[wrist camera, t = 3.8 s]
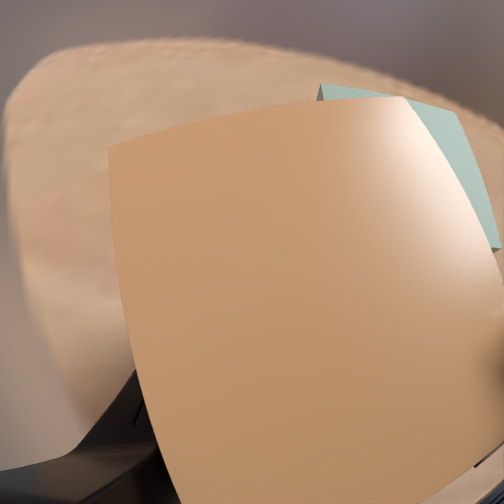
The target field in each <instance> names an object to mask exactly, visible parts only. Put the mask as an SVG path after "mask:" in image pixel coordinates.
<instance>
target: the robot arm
mask: <svg viewBox="0 0 504 504" xmlns="http://www.w3.org/2000/svg"><path fill="white" fill-rule="evenodd" d="M503 444H504V441H503V442H502V443H500V444H499V445H498V446H497V447H496V448H495V449H494V450H492V451H491V452H490V453H489V454H488V455H487V456H485V457H484V458H483V459H482V460H481V461H479V462H478V463H477V464H476V465H474V468H476V467H477V466H479V465H480V464H481V463H482V462H484V461H485V460H486V459H487V458H488V457H490V456H491V455H492V454H493V453H494V452H495V451H496V450H498V449H499V448H500V447H501V446H502V445H503ZM0 504H182V503H181V501H180V499H179V497H178V494H177V492H176V489H175V487H174V485H173V482H172V480H171V477H170V475H169V472H168V470H167V467H166V464H165V462H164V459H163V456H162V453H161V451H160V448H159V445H158V442H157V439H156V436H155V433H154V430H153V427H152V424H151V421H150V417H149V414H148V411H147V407H146V404H145V401H144V397H143V393H142V390H141V386H140V382H139V379H138V375H137V371H136V369H135V370H134V372H133V373H132V376H131V377H130V378H129V379H128V381H127V382H126V384H125V385H124V387H123V388H122V390H121V391H120V392H119V394H118V395H117V397H116V398H115V400H114V401H113V402H112V403H111V405H110V406H109V407H108V409H107V410H106V411H105V412H104V414H103V415H102V416H101V417H100V419H99V420H98V421H97V422H96V424H95V425H94V426H93V427H92V428H91V430H90V431H89V432H88V433H87V435H86V436H85V437H84V438H83V440H82V441H81V442H80V443H79V444H78V445H77V447H76V448H75V449H73V450H72V451H71V452H69V453H68V454H66V455H64V456H62V457H59V458H56V459H52V460H49V461H45V462H41V463H37V464H33V465H28V466H24V467H19V468H15V469H9V470H4V471H0ZM475 504H504V480H502V481H501V482H500V483H499V484H498V485H497V486H496V487H495V488H493V489H492V490H491V491H490V492H489V493H488V494H486V495H485V496H484V497H483V498H482V499H480V500H479V501H478V502H477V503H475Z"/></svg>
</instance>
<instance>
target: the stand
mask: <svg viewBox="0 0 504 504" xmlns="http://www.w3.org/2000/svg"><path fill="white" fill-rule="evenodd" d="M367 97H396V96H392V95H387V94H383V93H378V92H373V91H368V90H363V89H357V88H351V87H345V86H338V85H331V84H324V83H321V84H320V88H319V92H318V96H317V100H316V101H324V100H335V99H349V98H367ZM406 101H407V102H408V103H409V104H410V106H411V107H412V109H413V110H414V111H415V113H416V114H417V115H418V117H419V118H420V120H421V121H422V122H423V124H424V125H425V127H426V128H427V130H428V131H429V133H430V134H431V136H432V137H433V139H434V140H435V142H436V143H437V145H438V146H439V148H440V150H441V151H442V153H443V154H444V156H445V158H446V159H447V161H448V163H449V164H450V166H451V168H452V169H453V171H454V173H455V175H456V177H457V178H458V180H459V182H460V184H461V186H462V187H463V189H464V191H465V193H466V195H467V197H468V199H469V201H470V203H471V205H472V207H473V209H474V211H475V213H476V215H477V217H478V220H479V222H480V224H481V226H482V228H483V231H484V233H485V235H486V238H487V240H488V242H489V245H490V247H491V250H492V252H493V253H494V252H496V251H498V250H500V249H501V248H502V247H501V242H500V238H499V234H498V229H497V225H496V222H495V218H494V214H493V211H492V207H491V204H490V200H489V197H488V194H487V191H486V188H485V185H484V182H483V179H482V176H481V173H480V170H479V167H478V165H477V162H476V160H475V157H474V154H473V152H472V149H471V147H470V145H469V142H468V140H467V138H466V135H465V133H464V131H463V129H462V126H461V124H460V122H459V120H458V118H457V116H456V114H455V113H454V112H450V111H447V110H444V109H441V108H438V107H434V106H431V105H427V104H424V103H420V102H416V101H413V100H409V99H406Z"/></svg>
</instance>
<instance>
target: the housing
mask: <svg viewBox="0 0 504 504" xmlns="http://www.w3.org/2000/svg"><path fill="white" fill-rule="evenodd" d="M109 181H110V201H111V215H112V227H113V238H114V247H115V256H116V264H117V271H118V279H119V285H120V292H121V298H122V304H123V310H124V315H125V320H126V326H127V331H128V336H129V340H130V345H131V349H132V354H133V358H134V362H135V367H136V371H137V375H138V379H139V382H140V386H141V390H142V393H143V397H144V401H145V404H146V407H147V411H148V414H149V417H150V421H151V424H152V427H153V430H154V433H155V436H156V439H157V442H158V445H159V448H160V451H161V453H162V456H163V459H164V462H165V464H166V467H167V470H168V472H169V475H170V477H171V480H172V482H173V485H174V487H175V489H176V492H177V494H178V497H179V499H180V501H181V503H182V504H418V503H420V502H422V501H423V500H425V499H427V498H428V497H430V496H432V495H433V494H435V493H436V492H438V491H439V490H441V489H442V488H444V487H445V486H447V485H448V484H450V483H451V482H453V481H454V480H456V479H457V478H458V477H460V476H461V475H462V474H464V473H465V472H467V471H468V470H469V469H470V468H472V467H473V466H474V465H476V464H477V463H478V462H479V461H481V460H482V459H483V458H484V457H485V456H487V455H488V454H489V453H490V452H491V451H492V450H494V449H495V448H496V447H497V446H498V445H499V444H500V443H502V442H503V441H504V283H503V280H502V277H501V274H500V271H499V268H498V265H497V263H496V260H495V257H494V255H493V252H492V250H491V247H490V245H489V242H488V240H487V238H486V235H485V233H484V231H483V228H482V226H481V224H480V222H479V220H478V217H477V215H476V213H475V211H474V209H473V207H472V205H471V203H470V201H469V199H468V197H467V195H466V193H465V191H464V189H463V187H462V186H461V184H460V182H459V180H458V178H457V177H456V175H455V173H454V171H453V169H452V168H451V166H450V164H449V163H448V161H447V159H446V158H445V156H444V154H443V153H442V151H441V150H440V148H439V146H438V145H437V143H436V142H435V140H434V139H433V137H432V136H431V134H430V133H429V131H428V130H427V128H426V127H425V125H424V124H423V122H422V121H421V120H420V118H419V117H418V115H417V114H416V113H415V111H414V110H413V109H412V107H411V106H410V104H409V103H408V102H407V101H406V99H405V98H404V97H367V98H349V99H335V100H324V101H314V102H305V103H296V104H289V105H281V106H274V107H268V108H262V109H256V110H250V111H244V112H239V113H234V114H229V115H224V116H219V117H215V118H210V119H206V120H201V121H197V122H193V123H189V124H185V125H181V126H177V127H173V128H169V129H166V130H162V131H159V132H155V133H152V134H148V135H145V136H142V137H138V138H135V139H132V140H129V141H126V142H123V143H120V144H117V145H114V146H111V147H109Z"/></svg>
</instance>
